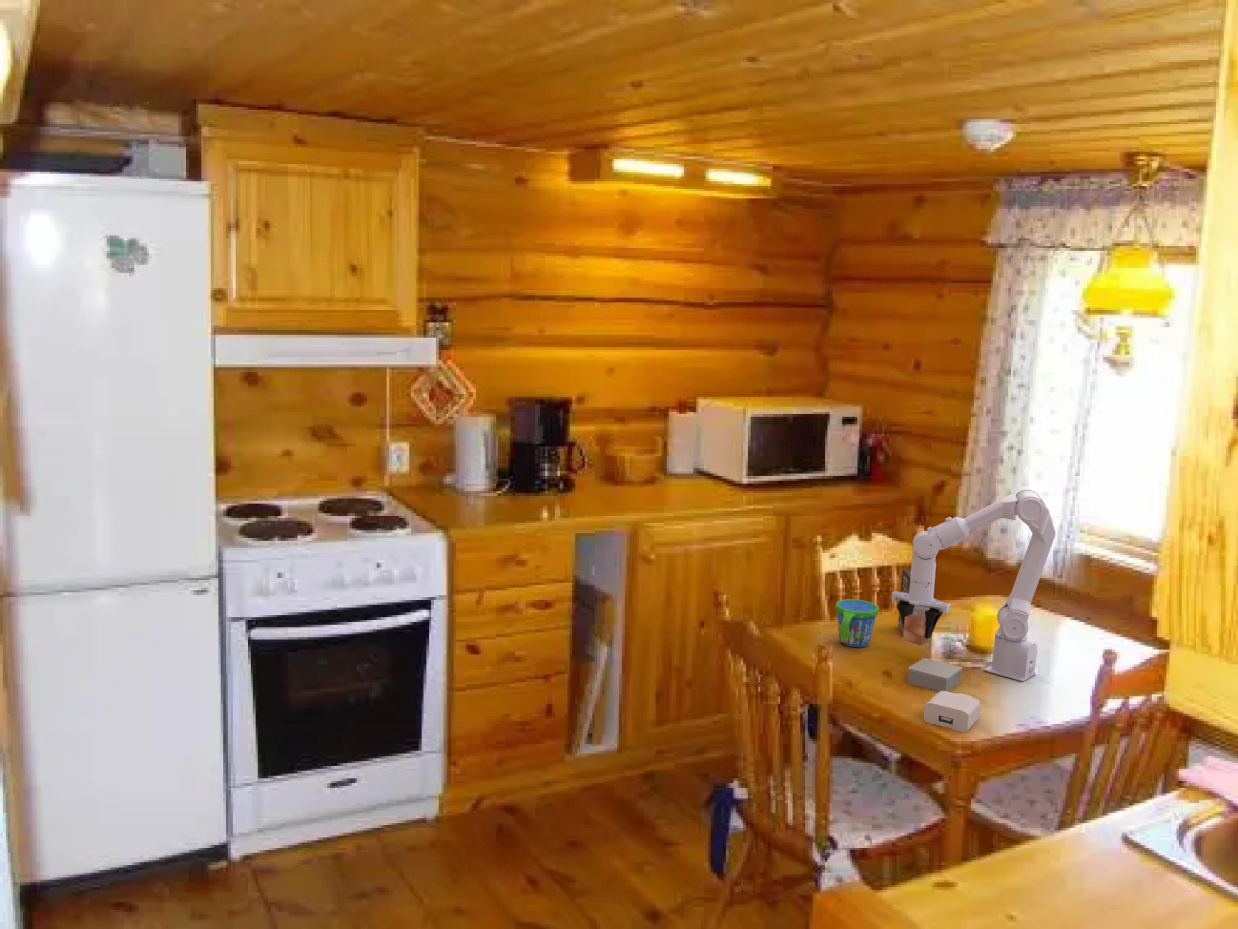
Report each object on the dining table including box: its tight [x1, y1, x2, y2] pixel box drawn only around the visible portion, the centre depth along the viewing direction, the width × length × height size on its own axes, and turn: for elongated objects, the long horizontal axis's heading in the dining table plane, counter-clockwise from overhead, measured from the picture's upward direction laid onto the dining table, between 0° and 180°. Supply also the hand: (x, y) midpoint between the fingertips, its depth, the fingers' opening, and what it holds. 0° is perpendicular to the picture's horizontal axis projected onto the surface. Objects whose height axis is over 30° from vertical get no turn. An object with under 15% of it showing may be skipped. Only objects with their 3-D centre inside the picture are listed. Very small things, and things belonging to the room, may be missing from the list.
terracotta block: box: [902, 613, 933, 646], centre depth 271 cm, size 5×5×6 cm
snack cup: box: [834, 598, 880, 648], centre depth 283 cm, size 16×10×10 cm
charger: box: [923, 691, 982, 732], centre depth 239 cm, size 5×9×15 cm
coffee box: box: [897, 568, 930, 634], centre depth 293 cm, size 9×6×16 cm
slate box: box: [907, 657, 964, 692], centre depth 258 cm, size 9×9×4 cm
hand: (917, 634), depth 271 cm, fingers closed on terracotta block, 5 cm apart
